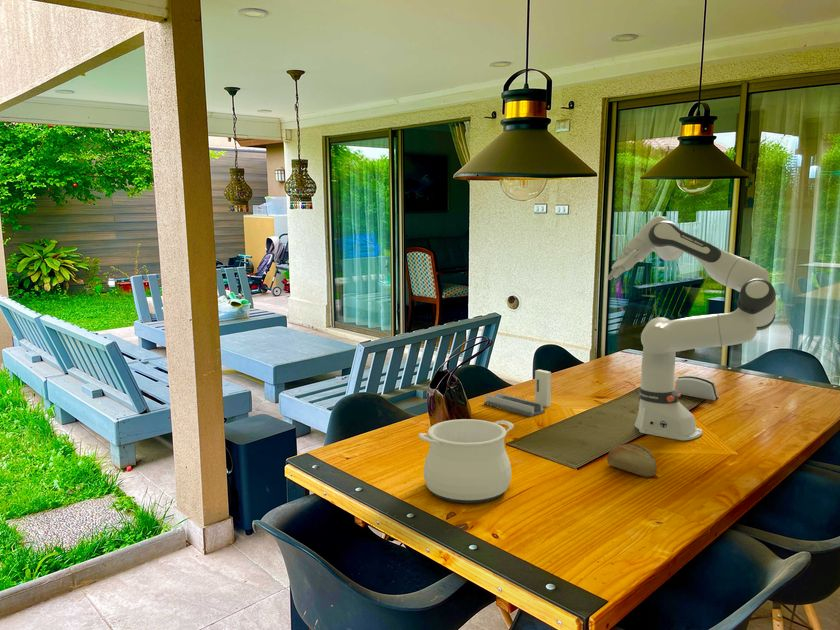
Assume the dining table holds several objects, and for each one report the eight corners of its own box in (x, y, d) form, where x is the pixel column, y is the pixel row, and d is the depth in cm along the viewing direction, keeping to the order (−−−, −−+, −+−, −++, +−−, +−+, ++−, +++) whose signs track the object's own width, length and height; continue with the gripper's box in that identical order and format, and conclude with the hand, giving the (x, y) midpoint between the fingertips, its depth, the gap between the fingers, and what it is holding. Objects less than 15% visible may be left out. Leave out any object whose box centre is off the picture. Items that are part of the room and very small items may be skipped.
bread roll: (615, 460, 201) (616, 435, 199) (663, 472, 190) (664, 446, 189) (600, 469, 194) (601, 443, 193) (648, 482, 183) (649, 455, 182)
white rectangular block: (550, 405, 260) (551, 371, 258) (546, 407, 258) (546, 373, 256) (538, 402, 265) (539, 369, 263) (534, 404, 263) (534, 370, 261)
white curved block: (719, 397, 268) (717, 377, 264) (715, 403, 265) (713, 383, 261) (679, 390, 279) (677, 371, 276) (675, 396, 277) (672, 376, 273)
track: (544, 412, 252) (544, 403, 251) (529, 417, 246) (529, 408, 245) (498, 400, 270) (498, 392, 269) (484, 404, 264) (484, 396, 263)
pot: (440, 516, 164) (439, 450, 162) (404, 482, 187) (402, 423, 184) (534, 496, 175) (535, 434, 173) (489, 466, 198) (489, 410, 195)
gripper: (649, 254, 238) (624, 282, 238) (635, 259, 258) (611, 284, 259) (636, 242, 238) (611, 270, 239) (623, 248, 258) (599, 274, 259)
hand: (611, 278), depth 249 cm, fingers open, 8 cm apart
